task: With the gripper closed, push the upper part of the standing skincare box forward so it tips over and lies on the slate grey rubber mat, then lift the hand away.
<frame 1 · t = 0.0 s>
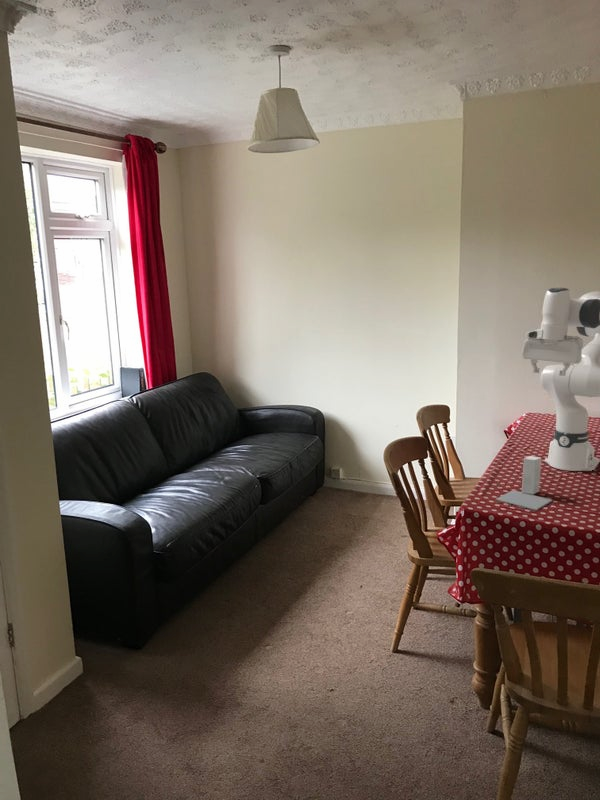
hand: (548, 374, 233), 39 cm above the table, tool pointing down, fingers open, 8 cm apart
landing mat: (523, 500, 221), on the table
skincare box: (530, 492, 228), on the table
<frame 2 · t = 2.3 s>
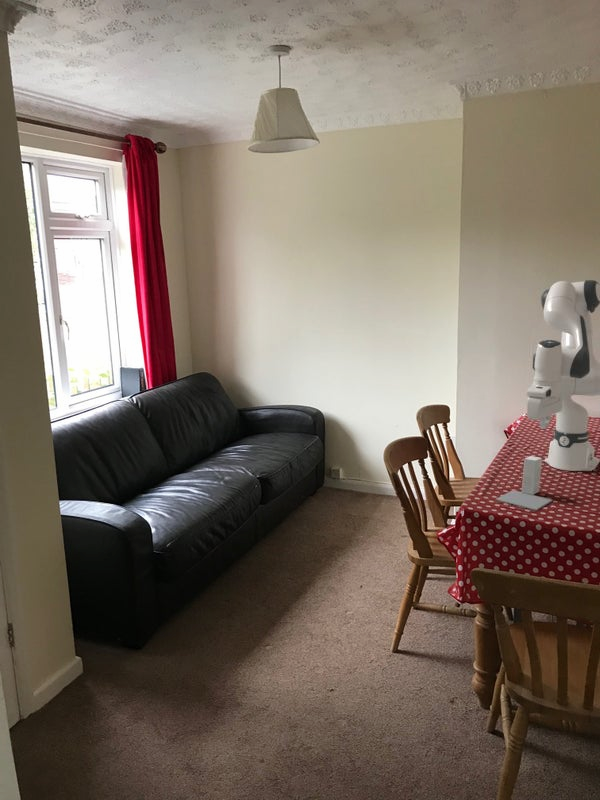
hand: (544, 428, 229), 21 cm above the table, tool pointing down, fingers closed
skincare box: (530, 492, 228), on the table, touching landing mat
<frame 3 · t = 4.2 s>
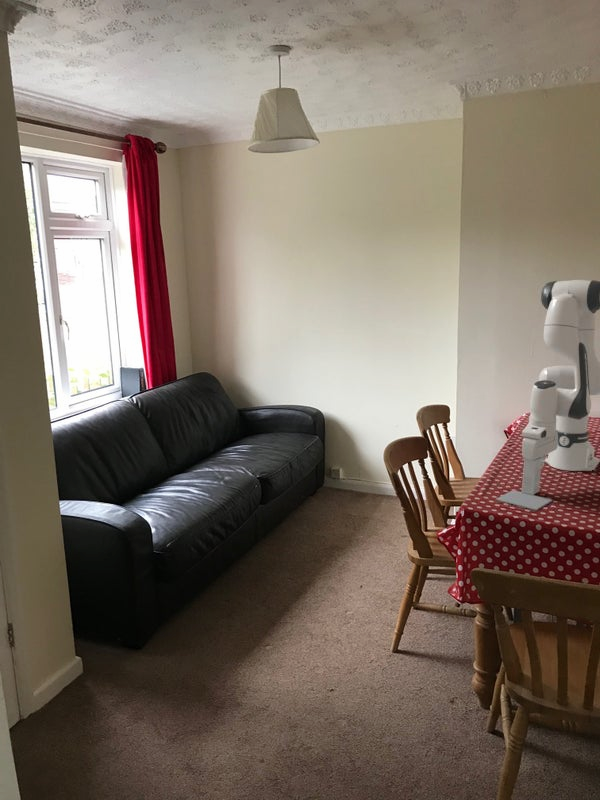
hand: (539, 467, 231), 8 cm above the table, tool pointing down, fingers closed
skincare box: (530, 492, 228), on the table, touching gripper, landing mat
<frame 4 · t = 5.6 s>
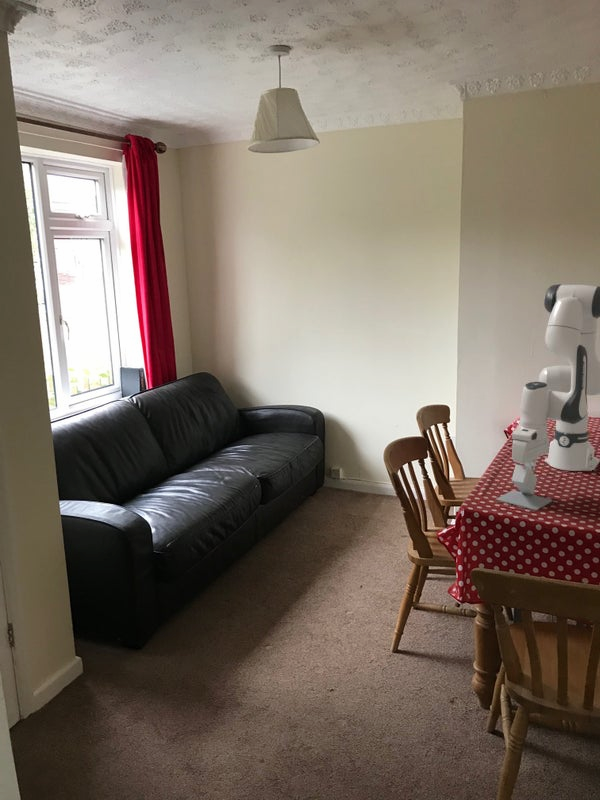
hand: (529, 471, 224), 8 cm above the table, tool pointing down, fingers closed
skincare box: (529, 486, 227), point 3 cm above the table, touching gripper, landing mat
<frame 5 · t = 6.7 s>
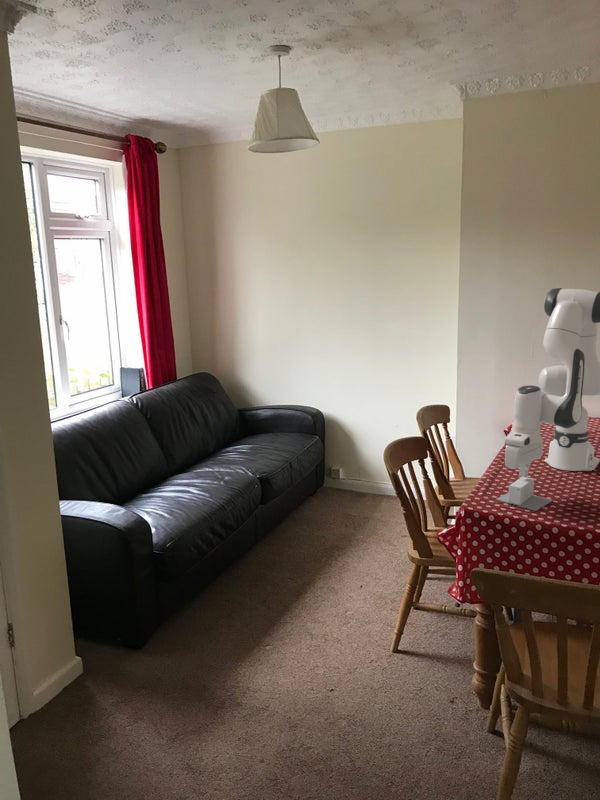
hand: (523, 475, 222), 8 cm above the table, tool pointing down, fingers closed
skincare box: (527, 485, 225), point 3 cm above the table, touching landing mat
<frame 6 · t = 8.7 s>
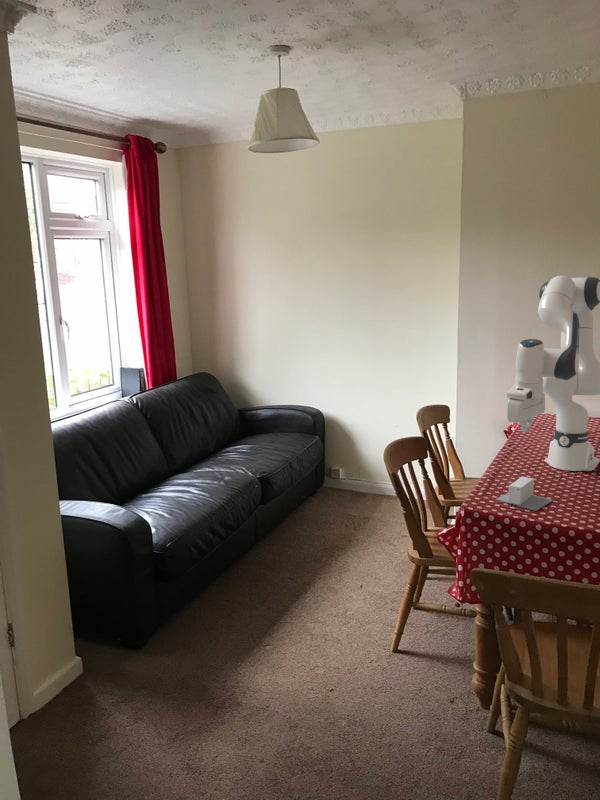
hand: (525, 431, 219), 23 cm above the table, tool pointing down, fingers closed
nothing on the table moved.
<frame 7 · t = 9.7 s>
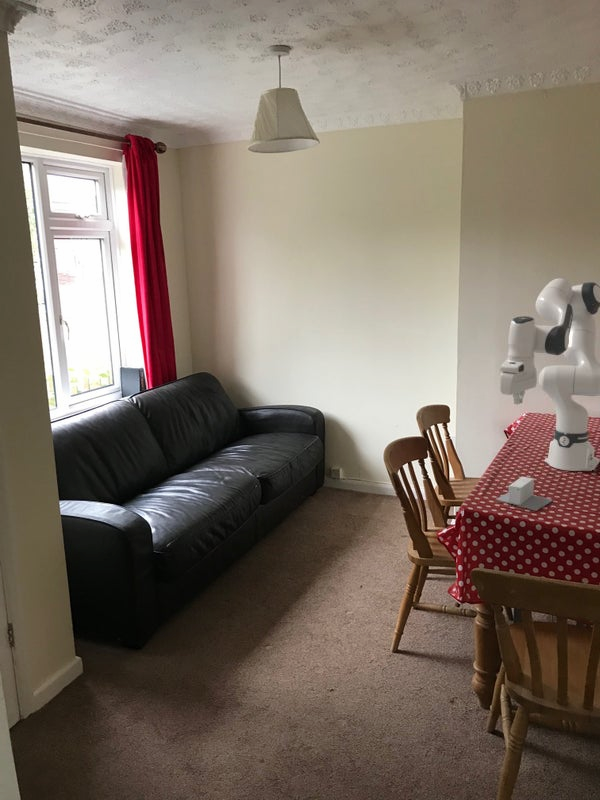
hand: (518, 403, 232), 29 cm above the table, tool pointing down, fingers closed
nothing on the table moved.
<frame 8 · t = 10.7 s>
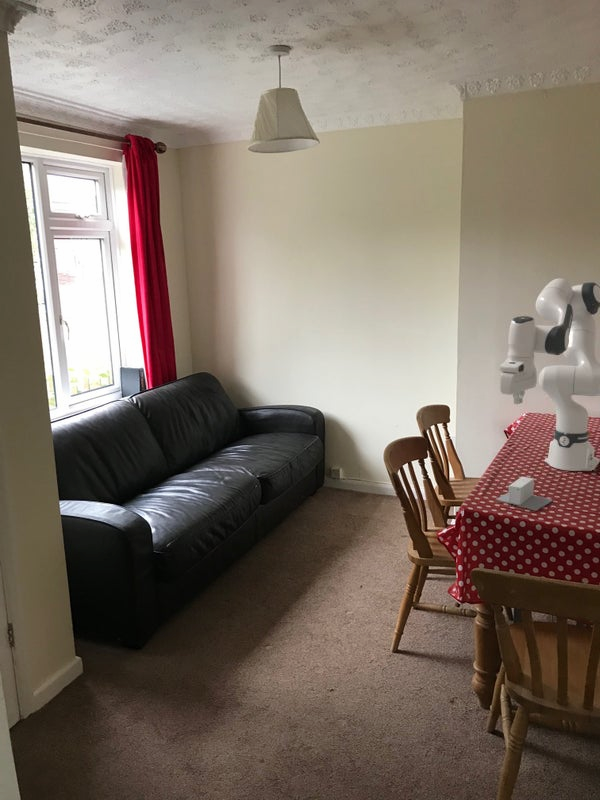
hand: (518, 403, 232), 29 cm above the table, tool pointing down, fingers closed
nothing on the table moved.
at the end: skincare box tilted 89°; skincare box inside the target area (5.8 cm from its centre), point 3.4 cm above the table; the gripper is holding nothing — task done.
